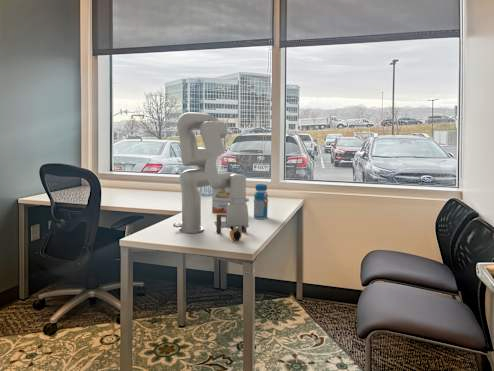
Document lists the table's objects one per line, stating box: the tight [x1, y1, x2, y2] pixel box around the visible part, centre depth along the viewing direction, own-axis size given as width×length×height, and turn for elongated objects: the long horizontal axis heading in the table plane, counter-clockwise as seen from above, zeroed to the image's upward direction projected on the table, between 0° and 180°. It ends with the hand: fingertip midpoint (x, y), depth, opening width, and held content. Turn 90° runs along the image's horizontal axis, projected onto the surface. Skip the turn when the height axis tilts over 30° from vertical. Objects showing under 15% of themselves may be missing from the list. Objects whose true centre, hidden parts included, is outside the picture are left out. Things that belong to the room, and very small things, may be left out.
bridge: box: [215, 213, 247, 234], centre depth 197 cm, size 15×3×10 cm, turn 100°
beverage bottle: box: [253, 183, 269, 220], centre depth 231 cm, size 8×8×20 cm
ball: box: [229, 227, 243, 241], centre depth 184 cm, size 6×6×6 cm
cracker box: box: [211, 187, 229, 214], centre depth 245 cm, size 14×6×21 cm, turn 80°
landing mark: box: [214, 220, 238, 229], centre depth 215 cm, size 13×13×1 cm
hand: (236, 239), depth 180 cm, fingers closed
